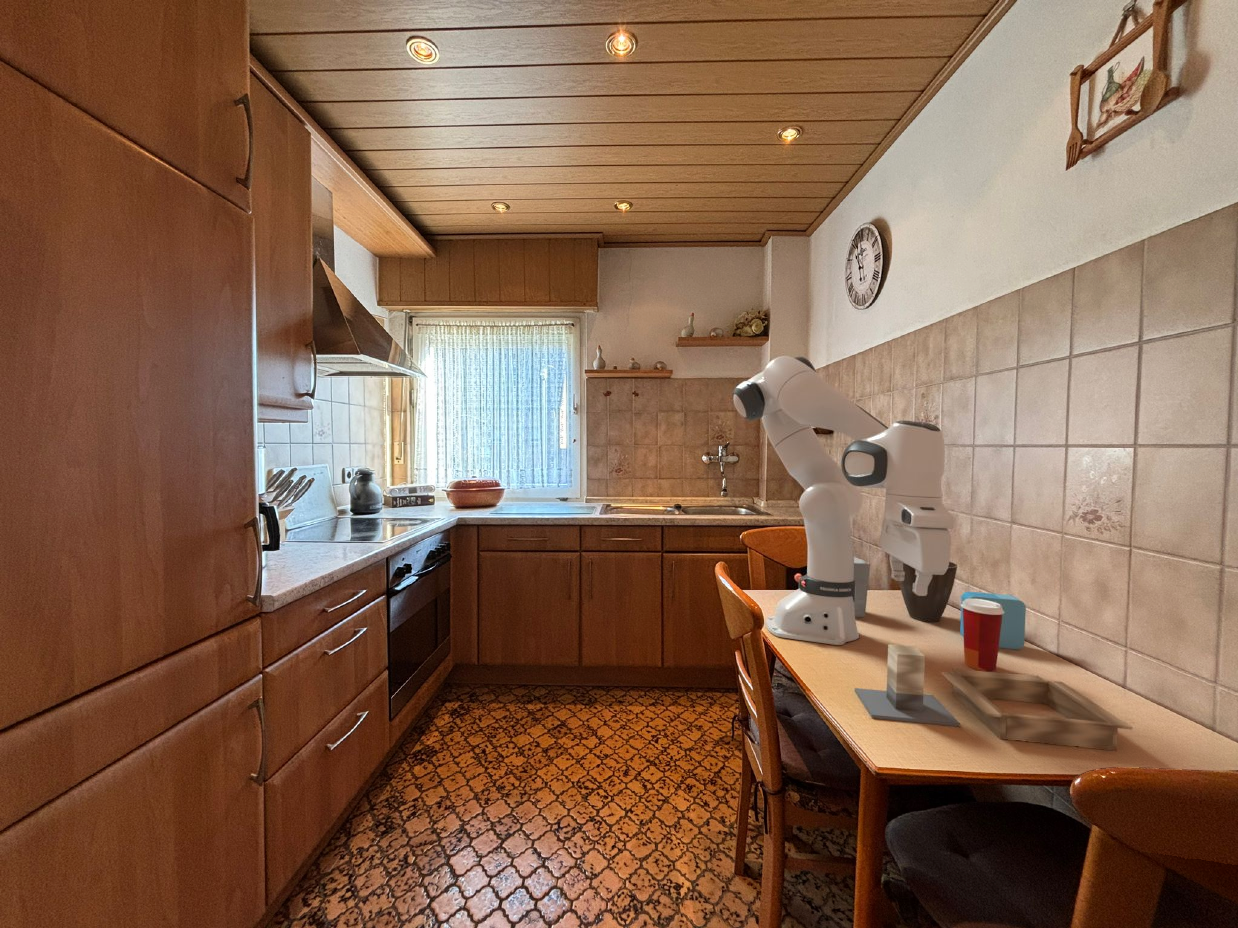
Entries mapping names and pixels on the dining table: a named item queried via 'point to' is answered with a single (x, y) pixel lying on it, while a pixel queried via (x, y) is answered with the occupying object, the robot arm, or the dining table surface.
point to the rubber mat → (884, 709)
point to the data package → (1004, 618)
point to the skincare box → (861, 586)
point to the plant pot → (928, 594)
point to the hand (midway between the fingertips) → (908, 586)
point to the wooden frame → (1080, 729)
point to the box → (905, 677)
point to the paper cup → (981, 633)
